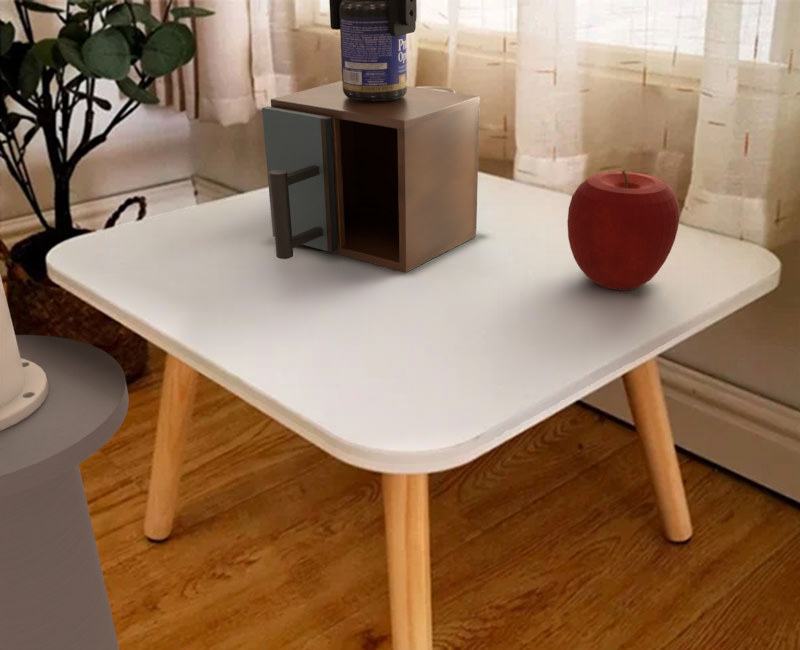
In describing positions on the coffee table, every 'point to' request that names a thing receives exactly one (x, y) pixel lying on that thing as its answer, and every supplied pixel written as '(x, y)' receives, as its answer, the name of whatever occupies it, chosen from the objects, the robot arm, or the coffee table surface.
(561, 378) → the coffee table surface
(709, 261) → the coffee table surface
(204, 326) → the coffee table surface
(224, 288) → the coffee table surface
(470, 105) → the cabinet
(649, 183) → the apple
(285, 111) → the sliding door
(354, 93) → the pill bottle
